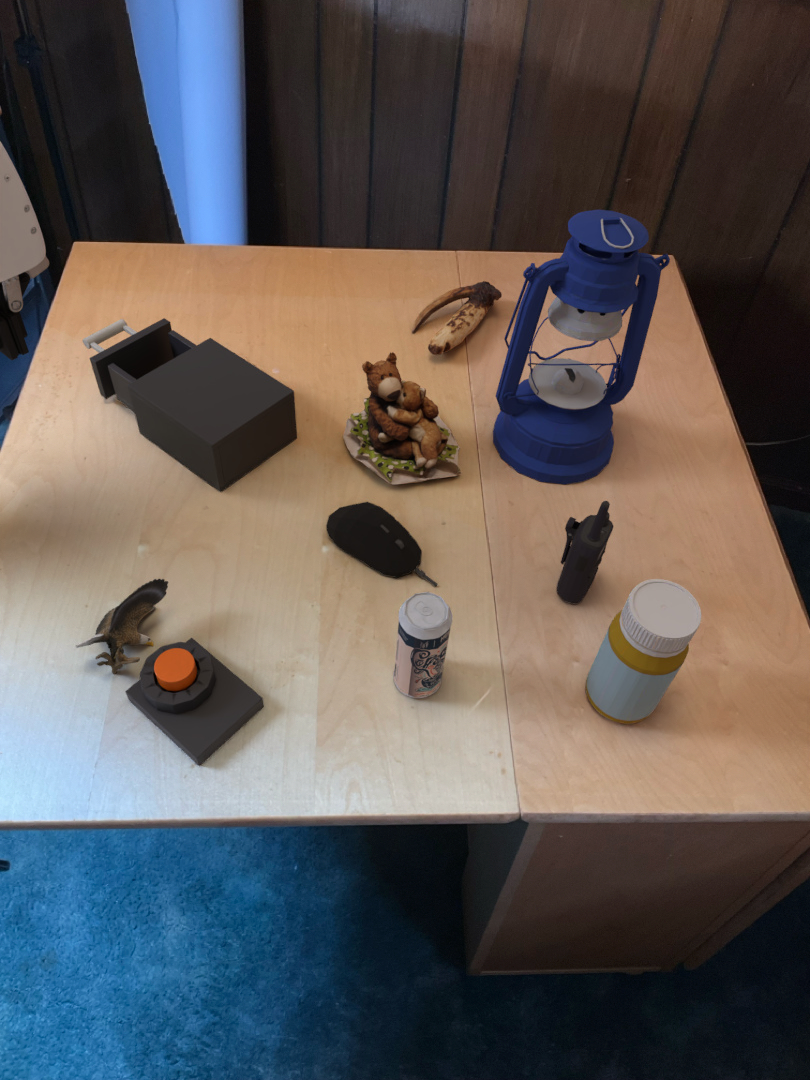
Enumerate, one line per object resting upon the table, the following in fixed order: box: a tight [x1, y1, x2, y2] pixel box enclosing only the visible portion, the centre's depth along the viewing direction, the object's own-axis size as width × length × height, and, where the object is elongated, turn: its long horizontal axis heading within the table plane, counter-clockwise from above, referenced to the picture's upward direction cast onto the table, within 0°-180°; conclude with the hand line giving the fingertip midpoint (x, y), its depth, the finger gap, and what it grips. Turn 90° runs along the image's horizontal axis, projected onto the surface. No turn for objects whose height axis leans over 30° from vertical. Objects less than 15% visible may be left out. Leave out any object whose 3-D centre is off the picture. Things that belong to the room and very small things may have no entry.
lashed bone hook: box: [411, 280, 502, 356], centre depth 115 cm, size 9×5×18 cm
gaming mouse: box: [326, 501, 439, 588], centre depth 88 cm, size 6×15×4 cm, turn 51°
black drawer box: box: [127, 337, 298, 493], centre depth 97 cm, size 15×13×8 cm
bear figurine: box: [342, 351, 462, 485], centre depth 95 cm, size 14×15×12 cm
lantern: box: [492, 209, 671, 485], centre depth 91 cm, size 17×15×30 cm
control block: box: [125, 637, 265, 767], centre depth 75 cm, size 10×8×4 cm
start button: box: [154, 648, 197, 691], centre depth 74 cm, size 4×4×2 cm
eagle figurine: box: [75, 578, 169, 675], centre depth 78 cm, size 8×7×9 cm
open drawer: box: [82, 317, 198, 412], centre depth 101 cm, size 19×11×6 cm, turn 50°
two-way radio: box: [556, 500, 614, 605], centre depth 82 cm, size 6×4×15 cm
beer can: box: [392, 591, 454, 699], centre depth 75 cm, size 5×5×12 cm
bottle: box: [585, 578, 702, 725], centre depth 74 cm, size 7×7×15 cm
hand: (10, 349), depth 70 cm, fingers closed
